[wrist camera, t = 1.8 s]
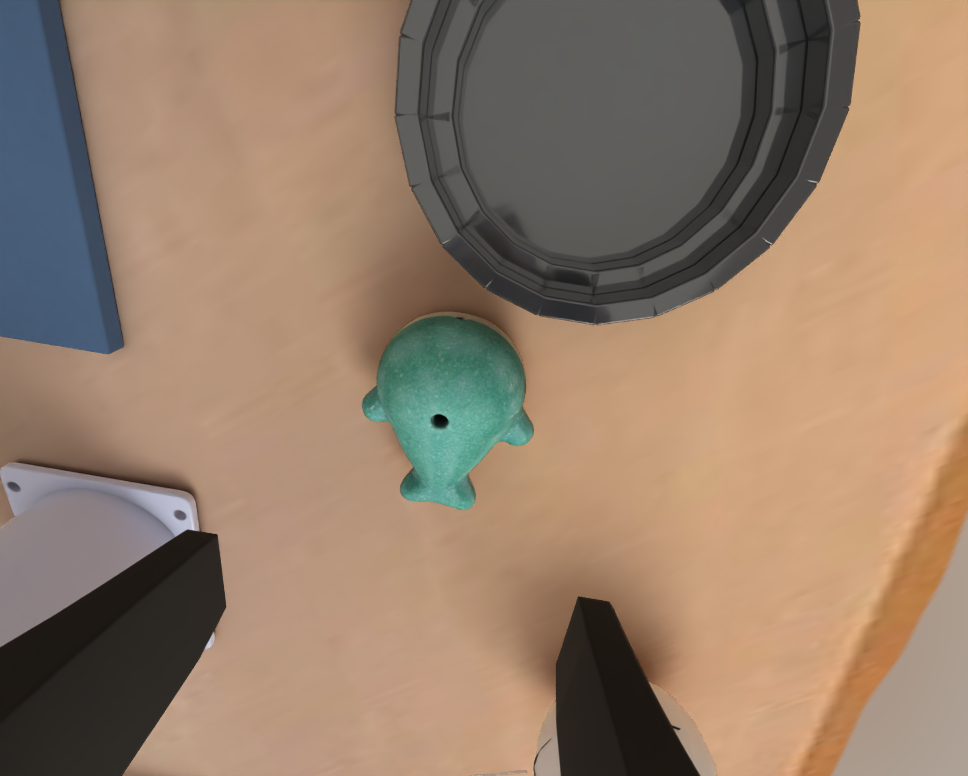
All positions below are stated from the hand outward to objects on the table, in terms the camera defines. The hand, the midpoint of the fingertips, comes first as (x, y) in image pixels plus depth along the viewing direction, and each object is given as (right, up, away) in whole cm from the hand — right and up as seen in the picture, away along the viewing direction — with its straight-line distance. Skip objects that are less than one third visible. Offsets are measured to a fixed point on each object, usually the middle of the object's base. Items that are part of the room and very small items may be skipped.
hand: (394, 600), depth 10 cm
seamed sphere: (+7, -10, +14) cm, 18 cm away
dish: (+5, +12, +4) cm, 13 cm away
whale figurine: (+1, +4, +8) cm, 9 cm away
